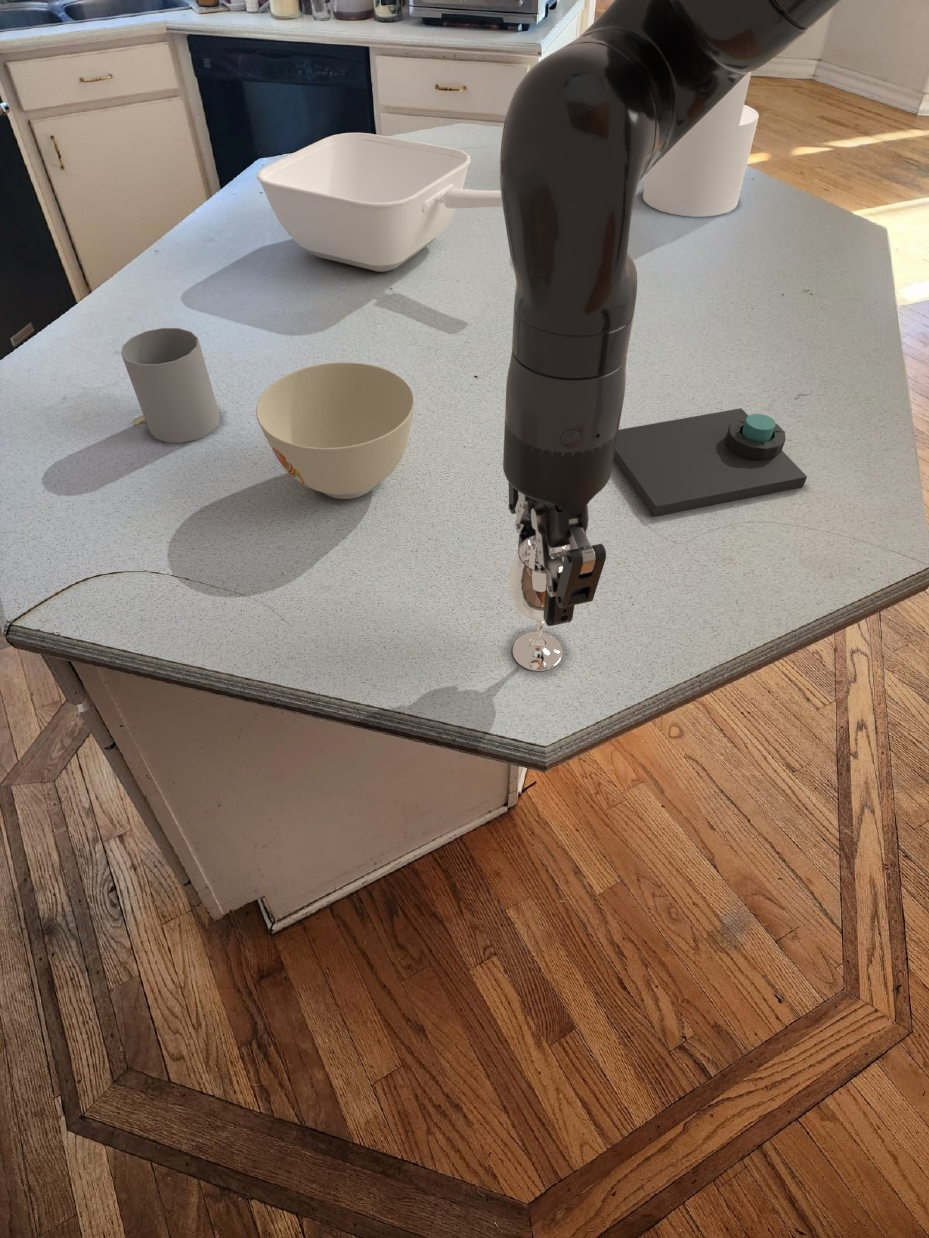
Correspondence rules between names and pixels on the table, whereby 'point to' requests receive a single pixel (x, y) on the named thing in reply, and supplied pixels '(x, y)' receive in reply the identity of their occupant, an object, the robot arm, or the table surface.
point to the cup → (171, 384)
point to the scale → (702, 462)
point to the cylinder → (706, 161)
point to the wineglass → (533, 607)
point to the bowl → (338, 425)
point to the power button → (758, 428)
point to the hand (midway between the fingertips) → (543, 592)
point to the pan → (370, 197)
